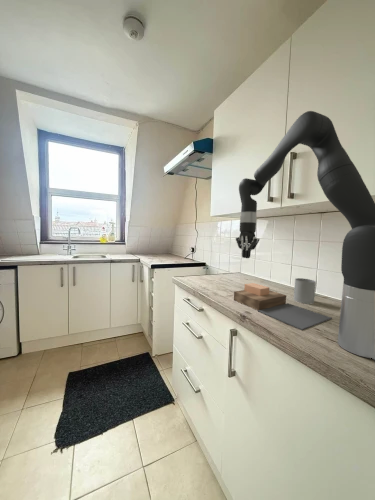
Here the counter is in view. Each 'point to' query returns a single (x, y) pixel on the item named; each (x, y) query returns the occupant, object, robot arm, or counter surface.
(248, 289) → the orange rectangular block
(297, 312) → the mat
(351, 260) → the robot arm
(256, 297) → the block
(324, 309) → the counter surface
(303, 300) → the cup
